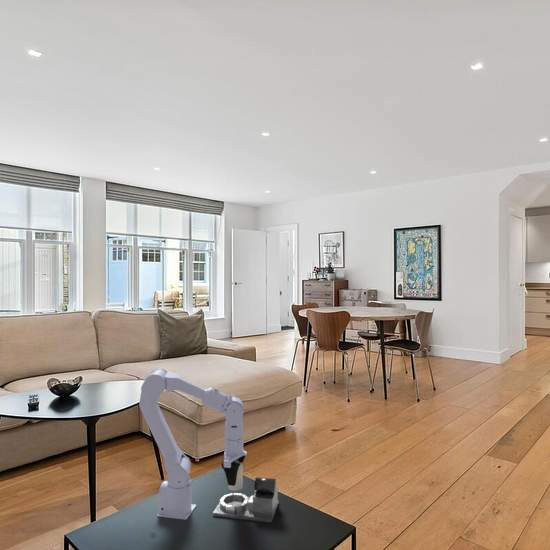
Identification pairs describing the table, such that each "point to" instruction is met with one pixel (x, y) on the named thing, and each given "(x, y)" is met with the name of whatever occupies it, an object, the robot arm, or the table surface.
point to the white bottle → (238, 478)
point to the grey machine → (251, 503)
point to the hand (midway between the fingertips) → (234, 481)
